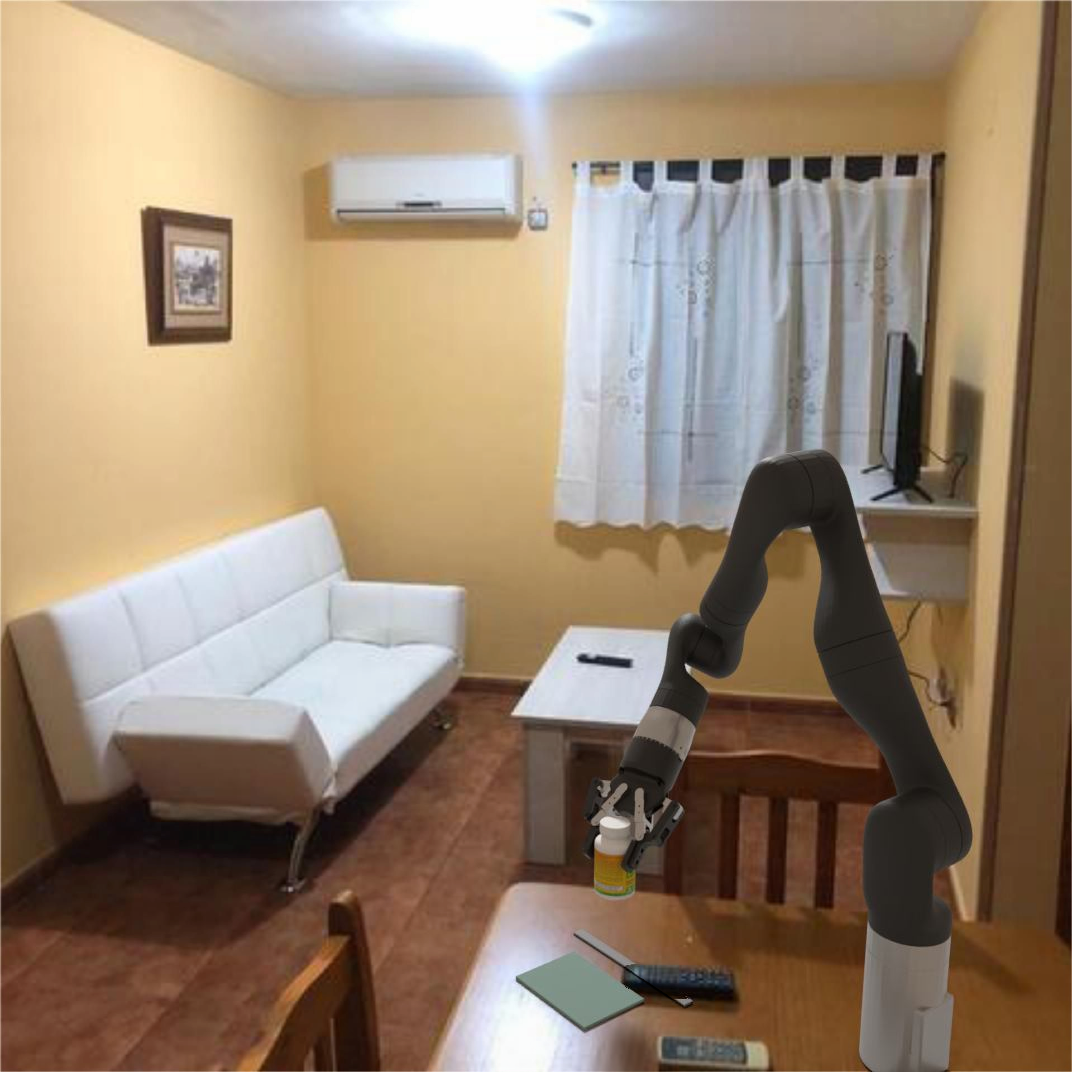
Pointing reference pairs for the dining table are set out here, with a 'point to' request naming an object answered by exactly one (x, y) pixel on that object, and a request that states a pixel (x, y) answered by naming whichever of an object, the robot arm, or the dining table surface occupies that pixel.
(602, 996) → the mat
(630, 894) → the supplement bottle
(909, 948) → the robot arm
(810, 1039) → the dining table surface
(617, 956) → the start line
